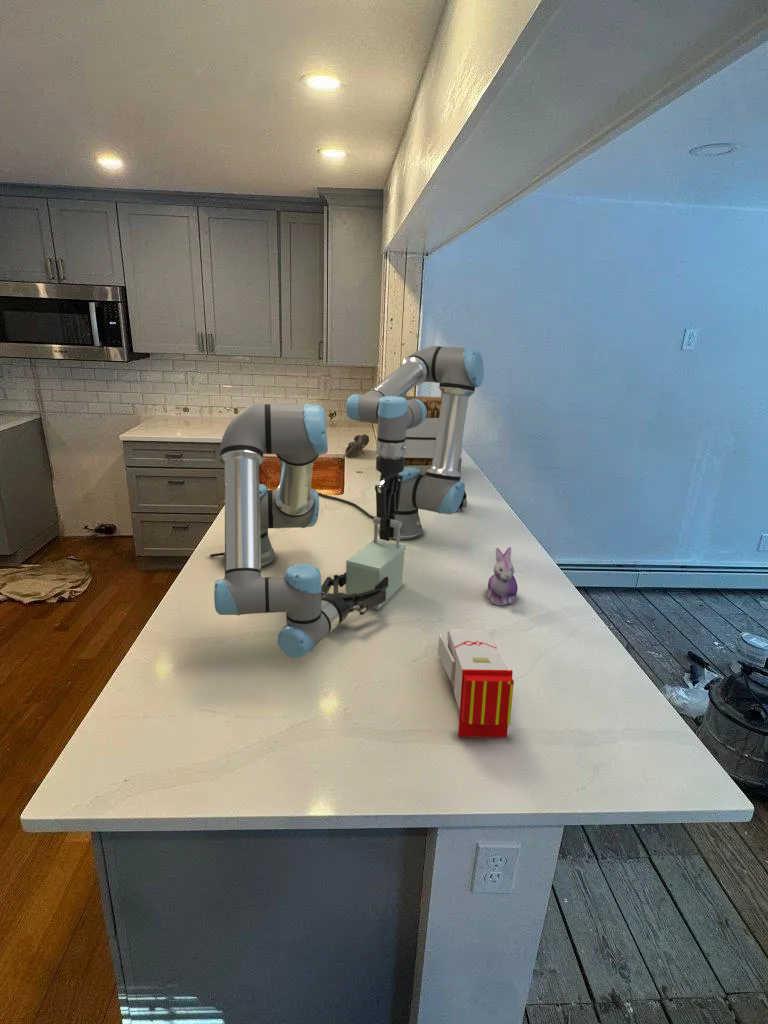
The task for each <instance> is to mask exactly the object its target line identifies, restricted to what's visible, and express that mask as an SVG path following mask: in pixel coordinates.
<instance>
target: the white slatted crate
mask: <svg viewBox="0 0 768 1024" xmlns="http://www.w3.org/2000/svg"><path fill="white" fill-rule="evenodd" d="M440 393H441V394H440V396H415V395H414V396H413V395H412V396H411V395H407V394H408V392H407V393H406V394H405V395H404V396H402V397H403V398H405V399H406V400H408V399H418V400H420V401H422V402H423V403H424V405H425V407H426V410H427V415H426V418H425V420H424V421H423V422H422V423H421V424H419V425H418V426H416V427H413V428H410V429H407V430H406V440H405V446H406V449H405V455H404V456H403V457H404V466H406V467H410V466H411V467H417V466H418V467H431V466H432V461H433V454H434V448H435V441H436V435H437V428H438V422H439V415H440V409H441V402H442V396H443V393H442V392H441V391H440ZM464 431H465V430H463V433H464ZM463 438H464V436H463V437H462V439H463ZM463 442H464V441H463V440H462V443H461V449H460V455H459V462H458V468H457V470H458V472H459V474H460V475H461V472H462V461H463V460H462V453H463Z"/></svg>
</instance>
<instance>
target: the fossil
mask: <svg viewBox="0 0 768 1024" xmlns="http://www.w3.org/2000/svg"><path fill="white" fill-rule="evenodd" d="M353 440H354V441H350V442H348V444H347V445H348V446H347V447H346V449H345V453H344V455H345V457H346V458H352V457H355V456H356V455H358V454H359V453H361V452H362V454H363V455H364V454H365V453H364V451H363V450H364V449H365V447H367V446H368V444H369V443H370V436H369V435H368V434H365V433H364V434H362V435H361V434H357V435H355V436H354V437H353Z"/></svg>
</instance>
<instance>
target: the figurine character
mask: <svg viewBox="0 0 768 1024" xmlns="http://www.w3.org/2000/svg"><path fill="white" fill-rule="evenodd" d="M467 495H468V494H467V493H466V490H465V491H464V496H463V499H462V502H461V504H460V506H459V508H458V509H459V510H460V512H463V509H464V508H465V509H466V508H467V506H468V499H467V497H468V496H467ZM458 509H457V510H458Z"/></svg>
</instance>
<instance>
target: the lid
mask: <svg viewBox="0 0 768 1024" xmlns="http://www.w3.org/2000/svg"><path fill="white" fill-rule="evenodd" d="M372 523H373V524H374V527H373V529H374V530H373V540H372V541H370V542H368V543H367V544H365V546H363V547H362V548H361V549H360V550H358V551H357V552H356V553H354V554H353V555H351V556H350V557H349V558H347V559H346V563H345V565H351V566H355V567H359V568H363V569H367V570H371V571H375V572H379V573H380V572H381V571H382V570H383V569H384V568H385V567H386V566H388V565H389V564H390V563H391V562H392V561H393V560H394V559H395V558H397V557H398V556H399V555H400V554H401V553H402V552H403V551H404V552H405V551H406V549H407V546H406V545H405V544H400V541H401V540H400V528H401V526H402V522H401V521H397V520H393V519H391V521H390V527H394V528H397V539H396V540H395V541H396V542H392V541H386V540H382V539H378V530H379V526H380V518H377V515H374V519H372Z"/></svg>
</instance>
